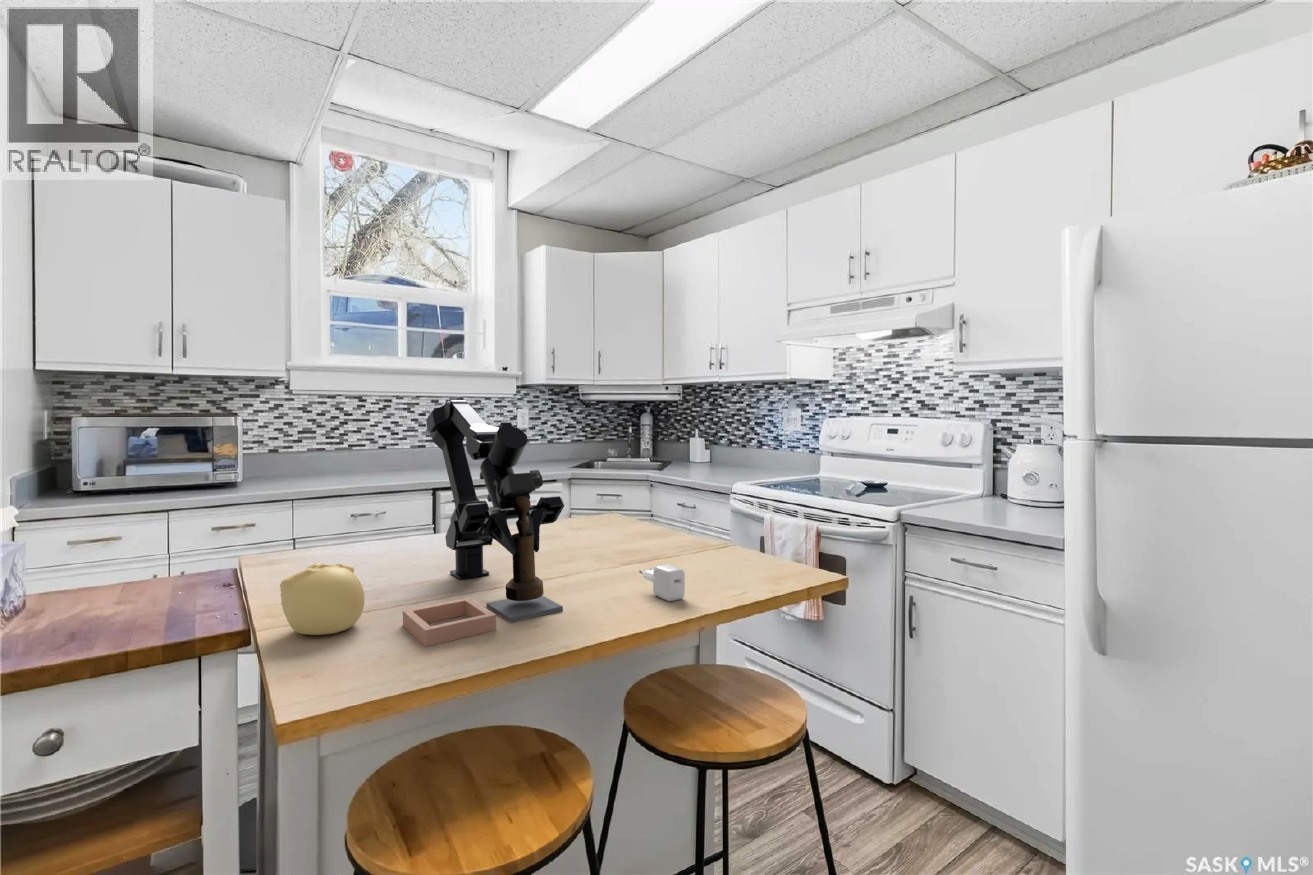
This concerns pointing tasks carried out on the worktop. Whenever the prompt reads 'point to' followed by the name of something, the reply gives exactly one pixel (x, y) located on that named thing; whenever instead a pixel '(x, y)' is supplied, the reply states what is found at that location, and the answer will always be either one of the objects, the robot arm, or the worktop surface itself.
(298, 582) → the pale yellow round lump
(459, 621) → the tray
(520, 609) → the mat
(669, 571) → the power adapter
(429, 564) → the worktop surface
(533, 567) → the mortar and pestle
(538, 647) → the worktop surface
